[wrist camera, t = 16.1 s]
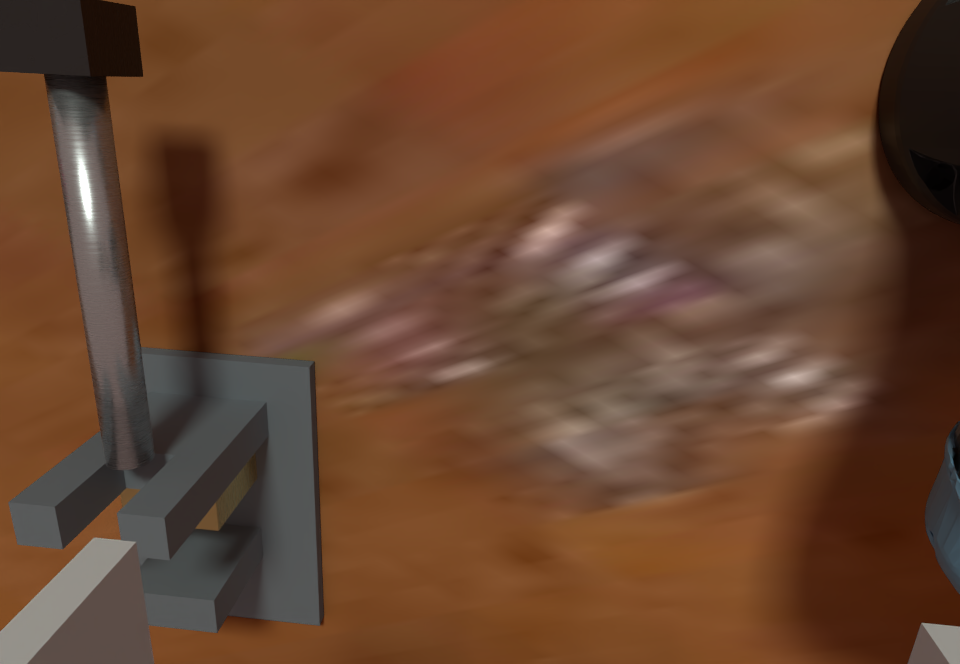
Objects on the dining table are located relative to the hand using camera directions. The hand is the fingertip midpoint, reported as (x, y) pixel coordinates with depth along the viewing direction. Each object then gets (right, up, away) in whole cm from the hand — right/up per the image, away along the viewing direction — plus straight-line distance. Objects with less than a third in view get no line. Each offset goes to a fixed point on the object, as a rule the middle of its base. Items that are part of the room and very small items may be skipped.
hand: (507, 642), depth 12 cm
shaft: (-19, +10, +24) cm, 32 cm away
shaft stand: (-19, -6, +38) cm, 43 cm away
